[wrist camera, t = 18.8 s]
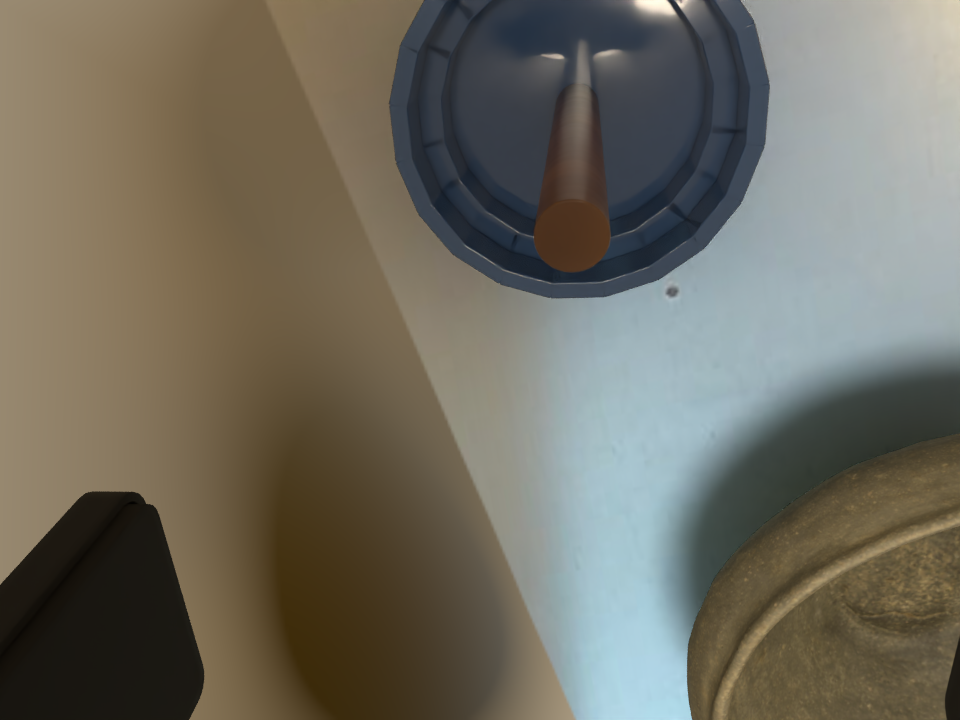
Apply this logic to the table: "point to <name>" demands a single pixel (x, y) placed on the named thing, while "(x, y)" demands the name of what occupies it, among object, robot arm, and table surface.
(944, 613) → the bowl
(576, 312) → the table surface
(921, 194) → the table surface
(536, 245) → the cooking stick
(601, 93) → the mixing bowl
